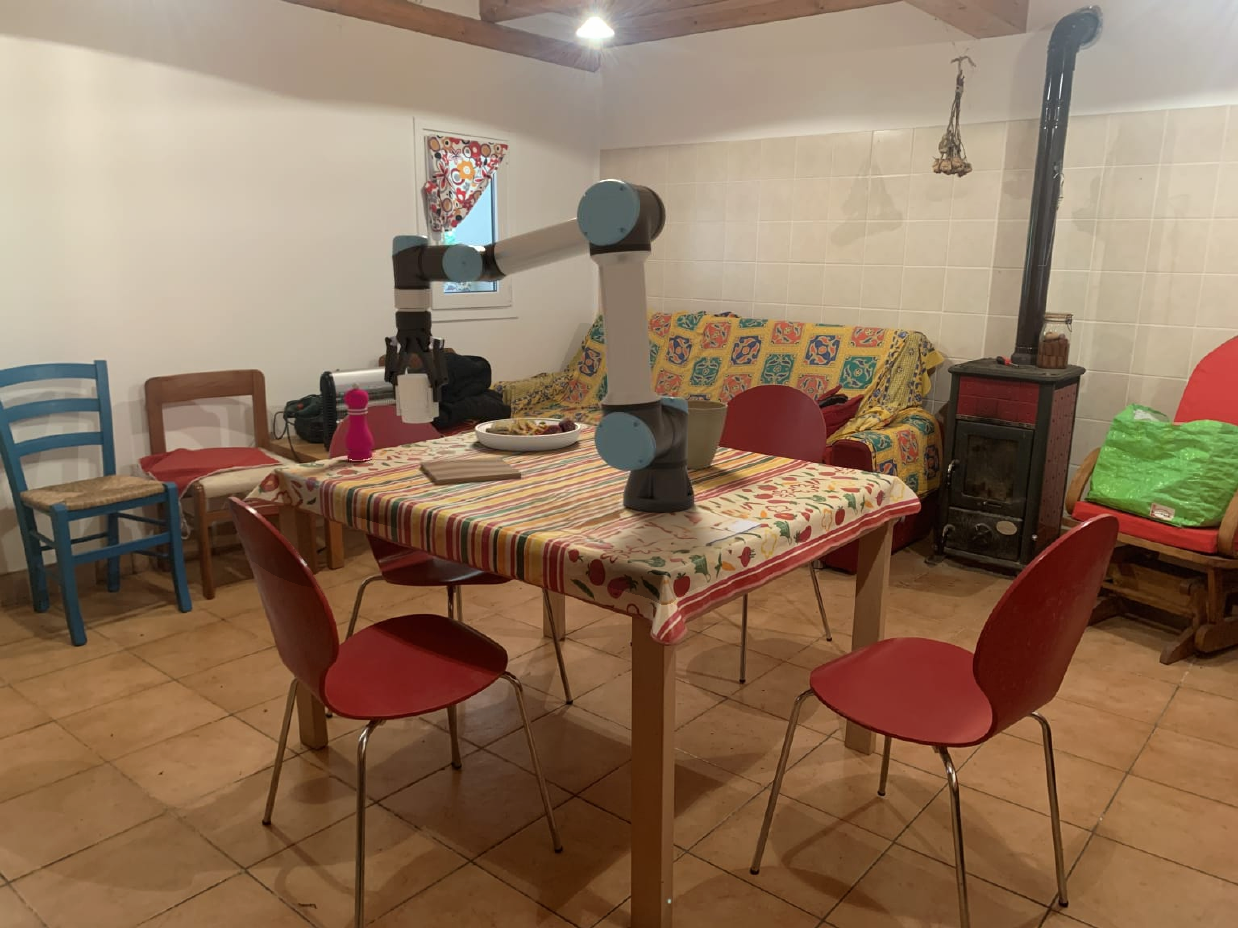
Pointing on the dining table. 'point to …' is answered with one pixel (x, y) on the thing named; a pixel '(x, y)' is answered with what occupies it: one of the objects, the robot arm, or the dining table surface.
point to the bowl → (528, 434)
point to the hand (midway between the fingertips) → (417, 415)
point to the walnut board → (469, 470)
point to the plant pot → (704, 431)
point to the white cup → (414, 398)
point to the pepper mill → (358, 425)
